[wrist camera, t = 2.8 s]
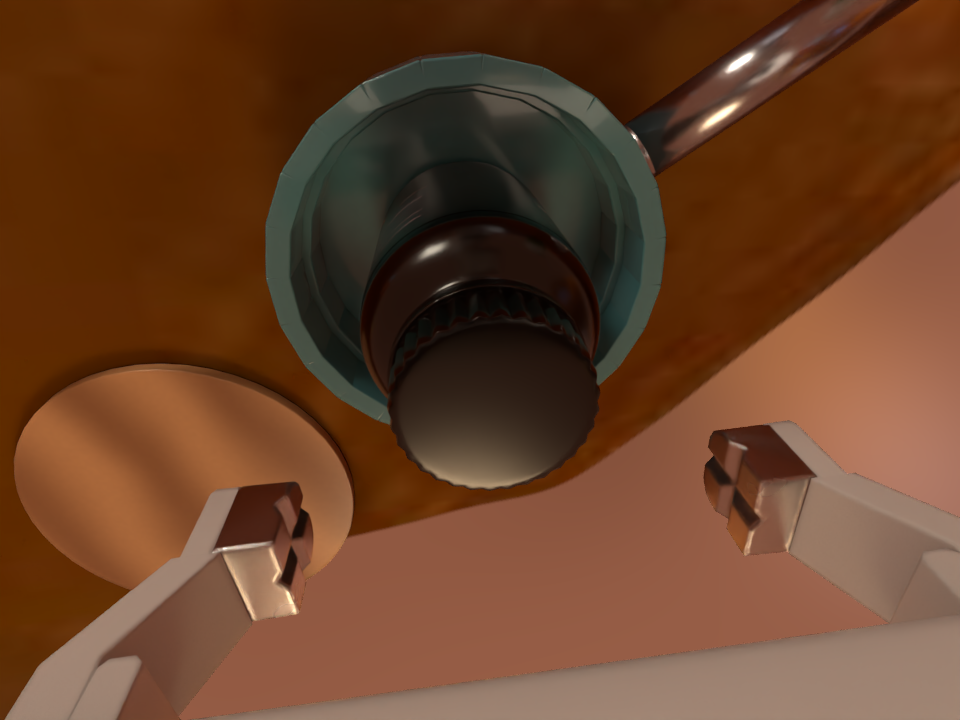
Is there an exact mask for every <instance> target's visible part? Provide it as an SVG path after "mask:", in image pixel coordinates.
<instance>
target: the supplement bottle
mask: <svg viewBox="0 0 960 720" xmlns="http://www.w3.org/2000/svg"><path fill="white" fill-rule="evenodd" d="M600 321H601V317H600V307H599V301H598V296H597V293H596V290H595V287H594V284H593V282H592V279H591V277H590V275H589V273H588V271H587V269H586V267H585V266H584V264H583V262H582V261H581V259H580V258H579V256H578V255H577V253H576V252H575V251H574V249H573V248H572V246H571V245H570V244H569V242H568V241H567V240H566V238H565V237H564V235H563V234H562V233H561V231H560V230H559V229H558V227H557V226H556V224H555V223H554V222H553V220H552V219H551V218H550V216H549V215H548V213H547V212H546V211H545V209H544V208H543V207H542V205H541V204H540V203H539V201H538V200H537V199H536V197H535V196H534V195H533V194H532V192H531V191H530V190H529V189H528V188H527V187H526V186H525V185H524V184H523V183H522V182H521V181H519V180H518V179H517V178H515V177H514V176H513V175H511V174H510V173H508V172H506V171H504V170H502V169H500V168H498V167H495V166H493V165H489V164H486V163H481V162H473V161H457V162H450V163H445V164H441V165H438V166H435V167H433V168H431V169H428V170H426V171H424V172H423V173H421V174H419V175H418V176H416V177H415V178H414V179H412V180H411V181H410V182H409V183H408V184H407V185H406V186H404V188H403V189H402V190H401V191H400V192H399V193H398V195H397V196H396V198H395V199H394V200H393V202H392V204H391V205H390V207H389V209H388V211H387V214H386V216H385V219H384V222H383V225H382V228H381V231H380V235H379V238H378V242H377V246H376V250H375V253H374V257H373V261H372V264H371V268H370V272H369V276H368V279H367V283H366V287H365V291H364V295H363V299H362V304H361V310H360V320H359V338H360V346H361V350H362V354H363V358H364V361H365V364H366V366H367V369H368V371H369V373H370V375H371V377H372V379H373V381H374V382H375V384H376V385H377V387H378V388H379V390H380V391H381V392H382V393H383V395H384V396H385V397H386V398H387V399H388V403H387V410H388V413H389V415H390V417H391V418H390V428H391V430H392V431H393V433H394V434H396V438H397V444H398V446H400V447H401V448H402V449H403V450H404V451H405V452H406V456H407V458H408V459H409V460H410V461H412V462H414V463H416V464H417V466H418V468H419V469H420V471H423V472H426V473H429V474H431V475H432V477H433V478H434V479H435V480H439V481H446V482H447V483H449V484H450V485H452V486H463V487H465V488H467V489H470V490H475V489H484V490H488V491H491V490H495V489H498V488H503V489H510V488H512V487H515V486H517V485H527V484H529V483H530V482H532V481H533V480H535V479H540V478H544V477H545V476H547V475H548V474H549V473H550V472H551V471H553V470H556V469H558V468H561V466H562V465H563V464H564V462H565V461H566V460H568V459H570V458H572V457H573V456H574V455H575V454H576V452H577V449H578V448H579V447H580V446H581V445H583V444H584V443H585V442H586V439H587V434H588V433H589V432H590V431H591V430H592V429H593V427H594V418H595V416H596V415H597V413H598V411H599V406H598V402H597V401H598V398H599V395H600V388H599V386H598V384H597V371H596V369H595V367H594V365H593V363H592V362H593V359H594V356H595V353H596V350H597V346H598V341H599V336H600Z"/></svg>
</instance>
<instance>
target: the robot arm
mask: <svg viewBox="0 0 960 720" xmlns="http://www.w3.org/2000/svg"><path fill="white" fill-rule="evenodd" d="M708 448H709V449H710V450H711V452H712V453H713V455H714V456H713V457H712V458H711V459H710V460H709V461H708V462H707V463H706V465H705V470H704V484H705V490H706V494H707V496H708V499H709V501H710V503H711V505H712V506H713V508H714V509H715V511H716V512H718V513H720V514H721V515H723V516H725V517H726V518H728V524H727V530H728V531H729V533H730V535H731V536H732V537H733V539H734V540H735V542H736V544H737V545H738V547H739V549H740V550H741V552H742V553H743V555H744V556H747V555H757V554H767V553H777V552H786V551H789V554H790V555H791V556H793V557H794V558H796V559H797V560H799V561H800V562H802V563H803V564H804V565H806V566H807V567H809V568H810V569H812V570H813V571H814V572H816V573H817V574H819V575H820V576H822V577H823V578H824V579H826V580H827V581H829V582H830V583H832V584H833V585H835V586H836V587H837V588H839V589H840V590H842V591H843V592H845V593H846V594H847V595H849V596H851V597H852V598H853V599H855V600H856V601H858V602H859V603H861V604H862V605H863V606H865V607H866V608H868V609H869V610H870V611H872V612H874V613H875V614H876V615H878V616H879V617H881V618H882V619H884V620H885V621H886V622H888V623H889V624H884V625H876V626H869V627H862V628H854V629H847V630H840V631H833V632H825V633H818V634H811V635H804V636H796V637H789V638H781V639H774V640H767V641H760V642H753V643H745V644H738V645H731V646H725V647H716V648H709V649H702V650H695V651H688V652H681V653H673V654H666V655H658V656H651V657H644V658H638V659H630V660H622V661H615V662H608V663H600V664H593V665H586V666H578V667H571V668H564V669H556V670H549V671H542V672H534V673H527V674H520V675H513V676H505V677H498V678H490V679H483V680H476V681H469V682H462V683H454V684H447V685H440V686H432V687H425V688H417V689H410V690H403V691H396V692H388V693H381V694H374V695H366V696H359V697H352V698H345V699H337V700H330V701H323V702H316V703H308V704H301V705H294V706H287V707H279V708H272V709H265V710H257V711H250V712H243V713H235V714H228V715H221V716H213V717H207V718H200V719H192V720H960V517H958V516H955V515H953V514H951V513H948V512H946V511H944V510H941V509H939V508H936V507H934V506H932V505H929V504H927V503H925V502H922V501H920V500H917V499H915V498H913V497H910V496H908V495H906V494H903V493H901V492H899V491H896V490H894V489H892V488H889V487H887V486H885V485H882V484H880V483H878V482H875V481H873V480H870V479H868V478H866V477H863V476H861V475H859V474H856V473H852V474H847V473H846V472H845V471H844V470H843V469H842V468H841V467H840V466H839V465H838V464H837V463H836V462H835V461H833V460H832V458H831V457H829V455H827V454H826V453H825V452H824V451H823V450H822V449H821V448H820V447H819V446H818V445H817V444H816V443H815V442H814V441H813V440H812V439H811V438H810V437H809V436H808V435H807V434H806V433H805V432H804V431H803V430H802V429H801V428H800V427H799V426H798V425H797V424H796V423H794V422H791V421H782V422H774V423H767V424H763V425H756V426H748V427H740V428H733V429H725V430H717V431H714V432H713V433H712V435H711V436H710V440H709V445H708ZM302 500H303V494H302V491H301V488H300V486H299V483H297V482H295V481H292V482H281V483H271V484H261V485H251V486H243V487H235V488H225V489H216V490H215V491H214V492H213V493H211V494H210V496H209V498H208V500H207V502H206V504H205V506H204V508H203V510H202V512H201V515H200V517H199V519H198V521H197V523H196V525H195V527H194V529H193V531H192V533H191V535H190V537H189V539H188V541H187V543H186V546H185V548H184V550H183V552H182V554H181V556H180V557H178V558H171V559H170V560H169V561H168V562H166V563H165V564H164V565H163V566H161V567H160V568H159V569H158V570H157V571H155V572H154V573H153V574H152V575H150V576H149V577H148V578H147V579H145V580H144V581H143V582H142V583H140V584H139V585H138V586H137V587H135V588H134V589H133V590H132V591H130V592H129V593H128V594H127V595H126V596H124V597H123V598H122V599H121V600H119V601H118V602H117V603H116V604H114V605H113V606H112V607H111V608H109V609H108V610H107V611H106V612H104V613H103V614H102V615H101V616H99V617H98V618H97V619H96V620H95V621H93V622H92V623H91V624H90V625H88V626H87V627H86V628H85V629H83V630H82V631H81V632H80V633H78V634H77V635H76V636H75V637H73V638H72V639H71V640H70V641H68V642H67V643H66V644H65V645H64V646H62V647H61V648H60V649H59V650H57V651H56V652H55V653H54V654H52V655H51V656H50V657H49V658H47V659H46V660H45V661H44V662H42V663H41V664H40V665H39V666H38V667H37V669H36V671H35V672H34V674H33V675H32V677H31V679H30V680H29V682H28V683H27V685H26V687H25V688H24V690H23V691H22V693H21V694H20V696H19V698H18V699H17V701H16V702H15V704H14V706H13V707H12V709H11V710H10V712H9V714H8V715H7V717H6V718H5V720H180V718H179V717H178V716H179V715H180V714H181V713H182V711H183V710H184V709H185V708H186V706H187V705H188V704H189V703H190V701H191V700H192V699H193V698H194V696H195V695H196V694H197V693H198V691H199V690H200V689H201V688H202V686H203V685H204V684H205V683H206V681H207V680H208V679H209V678H210V676H211V675H212V674H213V673H214V671H215V670H216V669H217V668H218V666H219V665H220V664H221V663H222V661H223V660H224V659H225V658H226V656H227V655H228V654H229V653H230V651H231V650H232V649H233V648H234V646H235V645H236V644H237V643H238V641H239V640H240V639H241V638H242V636H243V635H244V634H245V633H246V631H247V630H248V629H249V628H250V626H251V625H252V622H251V621H257V620H264V619H270V618H276V617H283V616H288V615H295V614H299V613H300V608H301V604H302V600H303V595H304V591H305V586H306V580H305V577H304V574H303V570H304V569H305V568H306V567H307V566H308V565H309V564H310V563H311V558H312V553H313V539H314V534H313V527H312V522H311V518H310V515H309V513H308V512H306V511H305V510H303V509H302V508H301V504H302Z"/></svg>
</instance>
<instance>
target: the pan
mask: <svg viewBox="0 0 960 720" xmlns="http://www.w3.org/2000/svg"><path fill="white" fill-rule="evenodd" d="M457 161H473V162H481V163H486V164H489V165H493V166H495V167H498V168H500V169H502V170H504V171H506V172H508V173H510V174H511V175H513V176H514V177H515V178H517V179H518V180H519V181H521V182H522V183H523V184H524V185H525V186H526V187H527V188H528V189H529V190H530V191H531V192H532V194H533V195H534V196H535V197H536V199H537V200H538V201H539V203H540V204H541V205H542V207H543V208H544V209H545V211H546V212H547V213H548V215H549V216H550V218H551V219H552V220H553V222H554V223H555V224H556V226H557V227H558V229H559V230H560V231H561V233H562V234H563V235H564V237H565V238H566V240H567V241H568V242H569V244H570V245H571V246H572V248H573V249H574V251H575V252H576V253H577V255H578V256H579V258H580V259H581V261H582V262H583V264H584V266H585V267H586V269H587V271H588V273H589V275H590V277H591V279H592V282H593V284H594V287H595V290H596V293H597V296H598V301H599V307H600V317H601V321H600V336H599V341H598V346H597V350H596V353H595V356H594V359H593V362H592V363H593V365H594V367H595V369H596V371H597V384H598V386H599V385H600V384H601V383H602V382H603V381H604V380H605V379H606V378H607V377H608V376H610V375H611V374H612V373H613V372H614V371H615V370H616V369H617V368H618V366H620V365H621V363H622V362H623V360H624V359H625V357H626V356H627V354H628V353H629V352H630V350H631V349H632V347H633V346H634V344H635V343H636V341H637V340H638V338H639V337H640V335H641V334H642V333H643V331H644V328H645V327H646V325H647V322H648V319H649V317H650V314H651V311H652V309H653V306H654V304H655V301H656V298H657V296H658V293H659V290H660V288H661V285H660V284H661V283H662V274H663V264H664V255H665V245H666V237H665V236H666V229H665V223H664V217H663V211H662V206H661V200H660V194H659V188H658V187H657V186H658V184H657V182H656V180H655V178H654V176H653V174H652V172H651V170H650V168H649V166H648V164H647V162H646V160H645V158H644V156H643V153H642V151H641V149H640V147H639V145H638V143H637V141H636V139H635V138H634V137H633V135H632V134H631V133H630V132H629V131H628V130H627V129H626V128H625V127H624V126H623V125H622V124H621V123H620V121H619V120H618V119H617V118H616V117H615V116H614V115H613V114H612V113H611V112H610V111H609V110H608V109H607V108H606V106H605V105H604V104H603V103H602V102H601V101H600V100H599V99H598V98H597V97H595V96H594V95H593V94H591V93H589V92H588V91H586V90H584V89H582V88H580V87H579V86H577V85H575V84H573V83H572V82H570V81H568V80H566V79H565V78H563V77H561V76H559V75H558V74H556V73H554V72H552V71H551V70H549V69H547V68H544V67H542V66H538V65H534V64H529V63H525V62H520V61H516V60H511V59H507V58H502V57H497V56H493V55H488V54H484V53H479V52H474V51H473V52H470V51H465V52H454V53H443V54H431V55H423V56H421V57H420V56H418V57H415V58H413V59H410V60H408V61H405V62H403V63H401V64H398V65H396V66H393V67H391V68H388V69H386V70H383V71H381V72H379V73H376V74H374V75H373V76H371V77H369V78H368V79H366V80H365V81H364V82H362V83H361V84H359V85H358V86H357V87H356V88H354V89H353V90H352V91H351V92H350V93H348V94H347V95H346V96H345V97H344V98H342V99H341V100H340V101H339V102H337V103H336V104H335V105H334V106H333V107H331V108H330V109H329V110H328V111H326V112H325V113H324V114H323V115H322V116H320V117H319V118H318V119H317V120H316V121H315V122H314V123H313V124H312V125H311V127H310V128H309V130H308V131H307V133H306V134H305V136H304V137H303V139H302V140H301V142H300V143H299V145H298V146H297V148H296V149H295V151H294V152H293V154H292V155H291V157H290V159H289V160H288V162H287V163H286V165H285V166H284V168H283V169H282V172H281V173H280V176H279V179H278V183H277V186H276V190H275V193H274V196H273V200H272V203H271V207H270V210H269V214H268V217H267V220H266V227H265V247H266V277H267V278H266V280H267V284H268V287H269V291H270V294H271V297H272V301H273V304H274V307H275V311H276V314H277V317H278V321H279V324H280V325H281V328H282V330H283V331H284V333H285V334H286V336H287V338H288V339H289V341H290V342H291V344H292V346H293V347H294V349H295V351H296V352H297V354H298V355H299V357H300V359H301V360H302V362H303V363H304V365H305V366H306V368H307V369H308V370H309V371H310V372H311V373H313V374H314V375H315V376H316V377H317V378H318V379H319V380H320V381H321V382H322V383H323V384H324V385H325V386H326V387H327V388H328V389H329V390H330V391H331V392H332V393H333V394H334V395H336V396H337V397H338V398H340V399H341V400H342V401H344V402H346V403H348V404H349V405H351V406H353V407H354V408H356V409H358V410H360V411H361V412H363V413H365V414H366V415H368V416H370V417H372V418H373V419H375V420H379V421H380V422H383V423H386V424H389V425H390V418H391V417H390V415H389V413H388V410H387V403H388V399H387V398H386V397H385V396H384V395H383V393H382V392H381V391H380V390H379V388H378V387H377V385H376V384H375V382H374V381H373V379H372V377H371V375H370V373H369V371H368V369H367V366H366V364H365V361H364V358H363V354H362V350H361V346H360V338H359V320H360V310H361V304H362V299H363V295H364V291H365V287H366V283H367V279H368V276H369V272H370V268H371V264H372V261H373V257H374V253H375V250H376V246H377V242H378V238H379V235H380V231H381V228H382V225H383V222H384V219H385V216H386V214H387V211H388V209H389V207H390V205H391V204H392V202H393V200H394V199H395V198H396V196H397V195H398V193H399V192H400V191H401V190H402V189H403V188H404V186H406V185H407V184H408V183H409V182H410V181H411V180H412V179H414V178H415V177H416V176H418V175H419V174H421V173H423V172H424V171H426V170H428V169H431V168H433V167H435V166H438V165H441V164H445V163H450V162H457Z"/></svg>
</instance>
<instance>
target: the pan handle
mask: <svg viewBox="0 0 960 720" xmlns="http://www.w3.org/2000/svg"><path fill="white" fill-rule="evenodd" d="M917 1H919V0H801V1H800V2H799V3H797V4H796V5H794V6H793V7H791V8H790V9H789V10H787V11H786V12H784V13H783V14H782V15H780V16H779V17H777V18H776V19H774V20H773V21H772V22H770V23H769V24H767V25H766V26H764V27H763V28H762V29H760V30H759V31H757V32H756V33H754V34H753V35H752V36H750V37H749V38H747V39H746V40H744V41H743V42H742V43H740V44H739V45H737V46H736V47H735V48H733V49H732V50H730V51H729V52H727V53H726V54H725V55H723V56H722V57H720V58H719V59H717V60H716V61H715V62H713V63H712V64H710V65H709V66H707V67H706V68H705V69H703V70H702V71H700V72H699V73H697V74H696V75H695V76H693V77H692V78H690V79H689V80H688V81H686V82H685V83H683V84H682V85H680V86H679V87H678V88H676V89H675V90H673V91H672V92H670V93H669V94H668V95H666V96H665V97H663V98H662V99H660V100H659V101H658V102H656V103H655V104H653V105H652V106H650V107H649V108H648V109H646V110H645V111H643V112H642V113H641V114H639V115H638V116H636V117H635V118H633V119H632V120H631V121H629V122H628V123H626V124H625V125H624V127H625V128H626V129H627V130H628V131H629V132H630V133H631V134H632V135H633V137H634V138H635V139H636V141H637V143H638V145H639V147H640V149H641V151H642V153H643V156H644V158H645V160H646V162H647V164H648V166H649V168H650V170H651V172H652V174H653V176H654V177H655V176H657V175H658V174H660V173H661V172H663V171H664V170H666V169H667V168H669V167H670V166H672V165H673V164H675V163H676V162H678V161H679V160H681V159H682V158H684V157H685V156H687V155H688V154H690V153H691V152H693V151H694V150H696V149H697V148H699V147H700V146H702V145H703V144H705V143H706V142H708V141H709V140H711V139H712V138H714V137H715V136H717V135H718V134H720V133H721V132H723V131H724V130H726V129H727V128H729V127H730V126H732V125H733V124H735V123H736V122H738V121H739V120H741V119H742V118H744V117H745V116H747V115H748V114H750V113H751V112H753V111H754V110H756V109H757V108H759V107H760V106H762V105H763V104H765V103H766V102H768V101H769V100H771V99H772V98H774V97H775V96H777V95H778V94H780V93H781V92H783V91H784V90H786V89H787V88H789V87H790V86H792V85H793V84H795V83H796V82H798V81H799V80H801V79H802V78H804V77H805V76H807V75H808V74H810V73H811V72H813V71H814V70H816V69H817V68H819V67H820V66H822V65H823V64H825V63H826V62H828V61H829V60H831V59H832V58H834V57H835V56H837V55H838V54H839V53H841V52H842V51H844V50H845V49H847V48H848V47H850V46H851V45H853V44H854V43H856V42H857V41H859V40H860V39H862V38H863V37H865V36H866V35H868V34H869V33H871V32H872V31H874V30H875V29H877V28H878V27H880V26H881V25H883V24H884V23H886V22H887V21H889V20H890V19H892V18H893V17H895V16H896V15H898V14H899V13H901V12H902V11H904V10H905V9H907V8H908V7H910V6H911V5H913V4H914V3H916V2H917Z"/></svg>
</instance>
